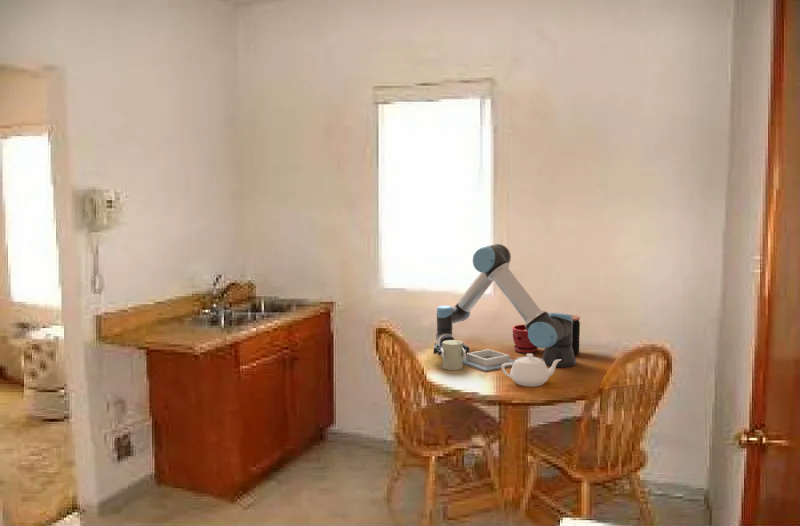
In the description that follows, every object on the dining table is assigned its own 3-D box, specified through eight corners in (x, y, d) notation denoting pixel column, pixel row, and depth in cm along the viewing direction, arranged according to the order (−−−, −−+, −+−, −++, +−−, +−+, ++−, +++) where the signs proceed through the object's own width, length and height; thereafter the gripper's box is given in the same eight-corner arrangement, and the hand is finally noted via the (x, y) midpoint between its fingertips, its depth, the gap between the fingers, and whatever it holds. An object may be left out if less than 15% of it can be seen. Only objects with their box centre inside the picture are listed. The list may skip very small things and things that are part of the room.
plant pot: (506, 350, 325) (507, 326, 324) (527, 346, 332) (527, 323, 330) (524, 355, 314) (524, 331, 313) (545, 352, 320) (545, 328, 319)
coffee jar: (583, 355, 314) (584, 318, 312) (563, 356, 311) (564, 319, 309) (571, 350, 324) (572, 314, 322) (552, 351, 321) (552, 315, 319)
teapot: (505, 389, 262) (505, 359, 260) (497, 377, 277) (497, 349, 275) (567, 388, 263) (567, 358, 261) (555, 376, 278) (556, 348, 277)
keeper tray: (522, 364, 298) (522, 355, 298) (485, 372, 286) (485, 363, 286) (489, 354, 316) (489, 346, 316) (453, 361, 304) (453, 352, 304)
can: (461, 370, 289) (461, 344, 287) (440, 369, 290) (440, 343, 289) (463, 365, 298) (464, 339, 296) (443, 364, 299) (443, 338, 298)
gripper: (469, 350, 312) (478, 362, 290) (424, 351, 311) (429, 363, 288) (469, 334, 311) (478, 345, 289) (424, 335, 310) (429, 346, 288)
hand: (454, 354), depth 289 cm, fingers closed on can, 9 cm apart
